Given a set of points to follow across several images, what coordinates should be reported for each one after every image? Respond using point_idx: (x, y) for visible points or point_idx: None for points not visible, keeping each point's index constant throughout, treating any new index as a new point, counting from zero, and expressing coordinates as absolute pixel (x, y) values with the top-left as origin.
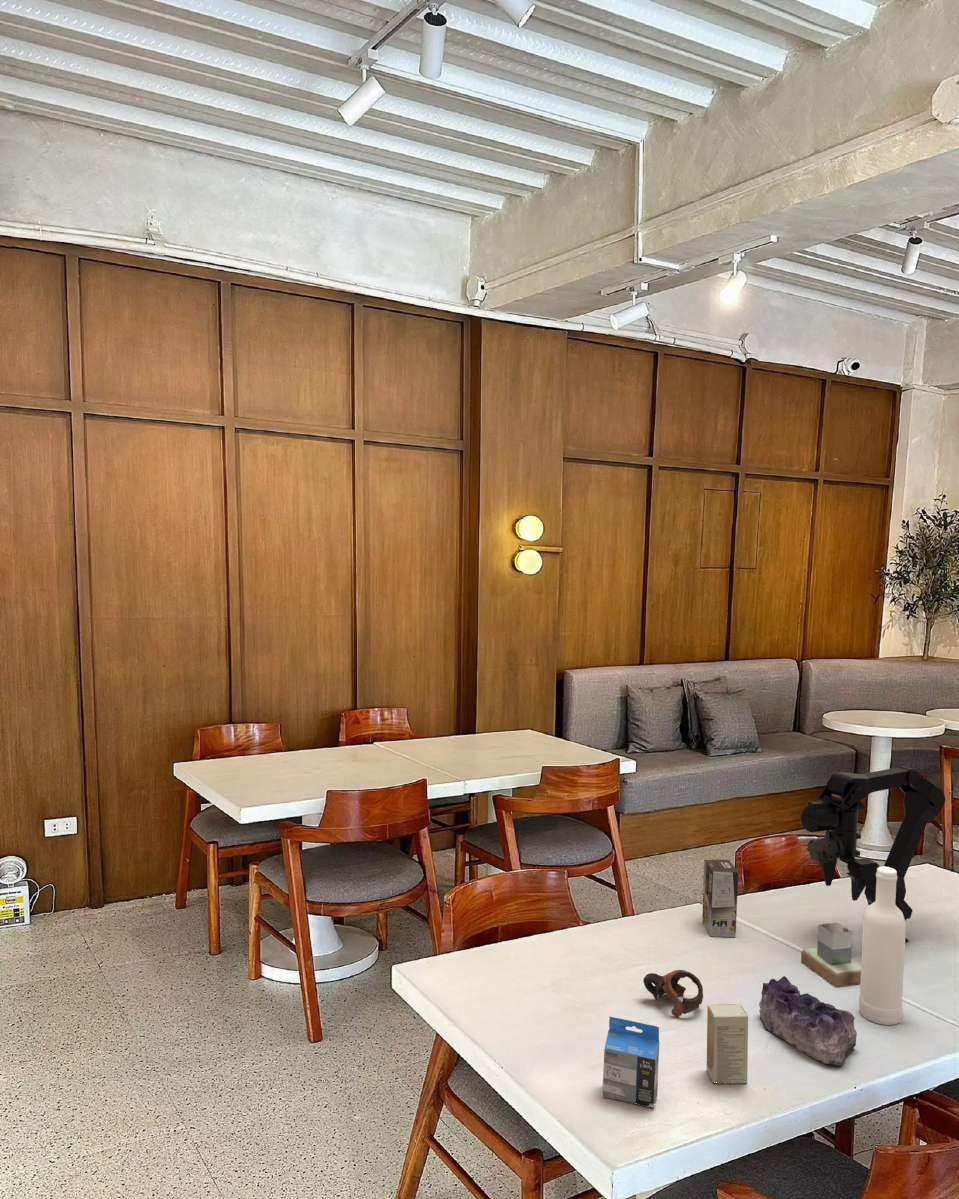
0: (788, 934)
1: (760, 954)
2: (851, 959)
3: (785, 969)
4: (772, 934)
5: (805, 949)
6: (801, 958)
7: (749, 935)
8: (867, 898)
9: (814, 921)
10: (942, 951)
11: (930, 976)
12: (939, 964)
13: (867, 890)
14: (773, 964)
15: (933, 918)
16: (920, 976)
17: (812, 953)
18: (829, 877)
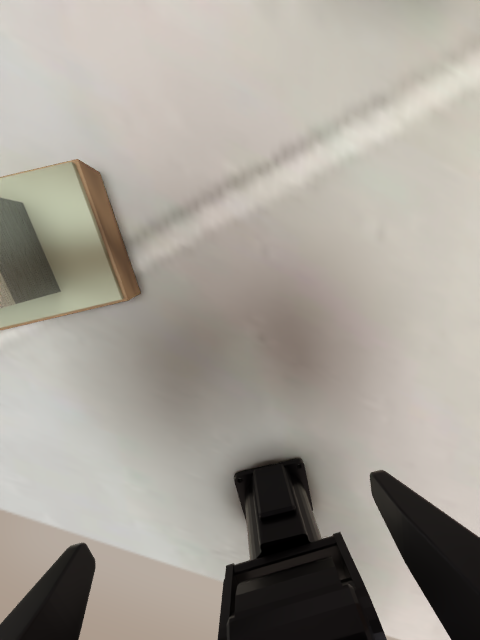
0: (317, 226)
1: (151, 18)
2: (11, 323)
3: (26, 74)
4: (323, 163)
5: (72, 174)
6: (92, 169)
7: (324, 52)
8: (327, 571)
9: (395, 352)
10: (201, 563)
11: (61, 496)
12: (132, 535)
13: (344, 620)
14: (64, 37)
15: None
16: (57, 476)
17: (37, 189)
18: (422, 563)
